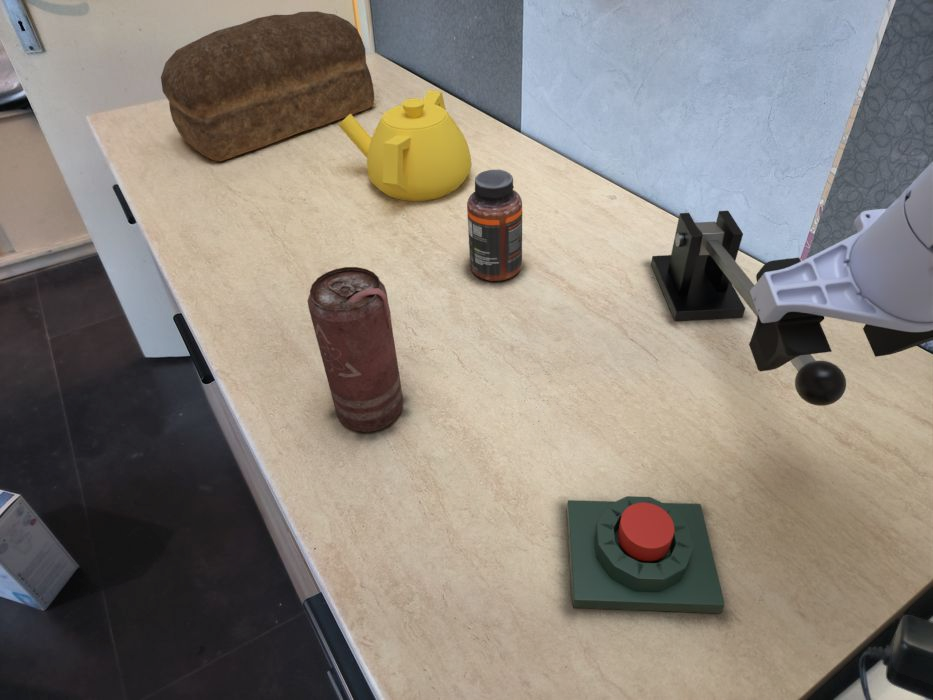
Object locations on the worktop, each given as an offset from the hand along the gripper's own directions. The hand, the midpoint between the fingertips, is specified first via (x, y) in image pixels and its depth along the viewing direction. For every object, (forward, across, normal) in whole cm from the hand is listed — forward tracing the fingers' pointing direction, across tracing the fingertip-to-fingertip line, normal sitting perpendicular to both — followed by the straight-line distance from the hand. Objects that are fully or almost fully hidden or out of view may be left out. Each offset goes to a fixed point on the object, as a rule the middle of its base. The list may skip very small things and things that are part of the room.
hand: (816, 349), depth 41 cm
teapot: (+36, +24, -46) cm, 63 cm away
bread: (+44, +43, -68) cm, 92 cm away
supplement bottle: (+27, +15, -25) cm, 39 cm away
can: (+19, +30, -7) cm, 36 cm away
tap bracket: (+23, -5, -18) cm, 30 cm away
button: (+10, +11, +9) cm, 17 cm away
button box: (+12, +11, +10) cm, 19 cm away
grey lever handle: (+13, -4, -9) cm, 16 cm away
